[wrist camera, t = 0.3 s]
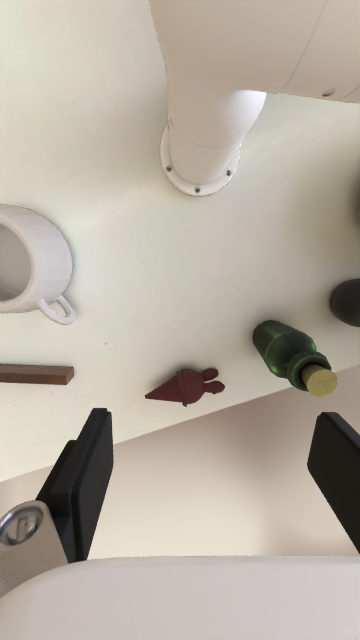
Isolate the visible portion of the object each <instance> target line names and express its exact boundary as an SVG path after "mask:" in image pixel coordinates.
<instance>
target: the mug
mask: <svg viewBox="0 0 360 640" xmlns="http://www.w3.org/2000/svg"><path fill="white" fill-rule="evenodd" d="M72 268H73V263H72V256H71V251H70V249H69V246H68V244H67V242H66V240H65V238H64V237H63V235H62V234H61V233H60V231H59V230H58V228H56V227H55V226H54V225H53V224H52V223H51V222H50V221H48V220H47V219H46V218H45V217H43V216H41V215H40V214H38V213H36V212H34V211H32V210H30V209H26V208H22V207H18V206H14V205H8V204H0V313H22V312H29V311H32V310H36V309H40V311H41V312H42V313H43V314H44V315H45V316H46V317H48V318H49V319H50V320H52V321H54V322H56V323H58V324H61V325H69V324H71V323H73V321H74V319H75V313H74V310H73V308H72V307H71V305H70V304H69V303H68V301H67V300H66V299H65V298H64V297H63V296H62V293H63V292H64V291H65V290H66V288H67V286H68V284H69V282H70V279H71V276H72ZM55 301H57V302H58V303H59V304H60V305H61V307H62V308H63V309H64V311H65V313H66V317H65V316H62V315H59V314H58V313H56V312H55V311H53V310H52V309H51V308H50V307H49V305H50V304H51V303H53V302H55Z"/></svg>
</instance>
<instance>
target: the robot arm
mask: <svg viewBox="0 0 360 640" xmlns="http://www.w3.org/2000/svg"><path fill="white" fill-rule="evenodd" d="M149 3H150V8H151V13H152V17H153V22H154V26H155V31H156V34H157V38H158V41H159V44H160V48H161V51H162V54H163V57H164V61H165V67H166V77H167V95H168V116H169V121H168V123H167V125H166V127H165V129H164V131H163V134H162V137H161V143H160V158H161V164H162V167H163V170H164V172H165V174H166V176H167V178H168V180H169V181H170V182H171V184H172V185H173V186H174V187H176V188H177V189H178V190H179V191H181V192H183V193H184V194H187V195H190V196H197V197H201V196H208V195H211V194H214V193H215V192H217V191H219V190H220V189H222V188H223V187H224V186H225V185H226V184H227V183H228V182H229V181H230V179H231V178H232V177H233V175H234V173H235V171H236V169H237V166H238V163H239V159H240V145H241V143H242V142H243V140H244V139H245V137H246V135H247V134H248V132H249V131H250V129H251V127H252V126H253V124H254V122H255V121H256V119H257V117H258V116H259V114H260V112H261V109H262V107H263V105H264V102H265V99H266V95H267V93H273V94H277V93H283V94H290V95H297V96H303V97H310V98H317V99H324V100H330V101H338V102H346V103H360V0H149ZM168 169H170V170H171V171H170V172H168V171H167V170H168ZM227 173H228V174H229V176H227V175H226V174H227ZM196 190H198V191H199V192H198V193H197V192H196ZM307 466H308V470H309V472H310V474H311V475H312V477H313V479H314V480H315V482H316V484H317V485H318V487H319V488H320V490H321V492H322V493H323V495H324V497H325V498H326V500H327V502H328V503H329V505H330V506H331V508H332V510H333V511H334V513H335V514H336V516H337V518H338V520H339V521H340V523H341V524H342V526H343V528H344V529H345V531H346V533H347V534H348V536H349V537H350V539H351V541H352V542H353V544H354V546H355V547H356V549H357V551H358V552H359V554H360V435H359V434H358V433H357V432H356V431H355V430H354V429H353V428H352V427H351V426H350V425H349V424H348V423H347V422H346V421H345V420H344V419H343V418H342V417H341V416H340V415H339V414H338V413H336V412H322V413H321V414H320V415H319V416H318V417H317V420H316V425H315V430H314V434H313V439H312V443H311V448H310V453H309V457H308V462H307ZM112 468H113V438H112V415H111V412H107V409H106V408H93V409H92V411H91V413H90V415H89V417H88V419H87V421H86V423H85V425H84V427H83V429H82V431H81V432H80V434H79V436H78V438H77V440H69V441H68V442H67V444H66V446H65V447H64V449H63V451H62V453H61V454H60V456H59V458H58V460H57V462H56V463H55V465H54V467H53V469H52V471H51V473H50V474H49V476H48V478H47V480H46V481H45V483H44V485H43V487H42V489H41V490H40V492H39V494H38V496H37V498H36V499H35V500H32V501H28V502H24V503H22V504H19V505H17V506H16V507H14V508H13V509H11V510H10V511H8V512H7V513H6V514H5V515H4V516H3V517H2V518H1V519H0V640H360V556H154V557H124V558H123V557H121V558H120V557H119V558H105V559H93V560H87V557H88V554H89V550H90V547H91V543H92V540H93V536H94V533H95V529H96V526H97V522H98V519H99V515H100V512H101V508H102V504H103V501H104V498H105V494H106V490H107V487H108V483H109V480H110V476H111V473H112Z"/></svg>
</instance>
